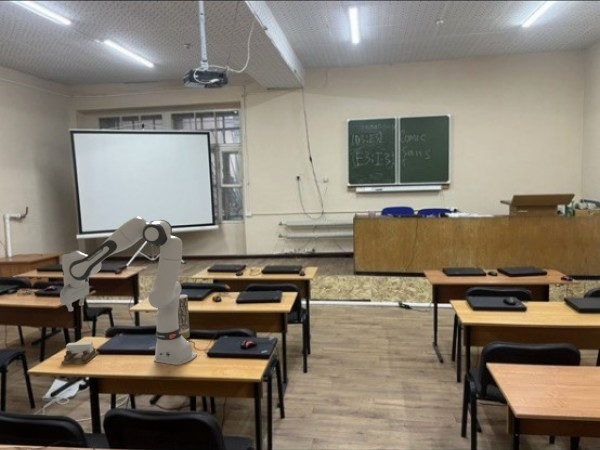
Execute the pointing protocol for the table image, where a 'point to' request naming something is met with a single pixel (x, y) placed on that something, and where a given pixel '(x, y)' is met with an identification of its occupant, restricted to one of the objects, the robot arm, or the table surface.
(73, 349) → the grey strip
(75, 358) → the drying rack
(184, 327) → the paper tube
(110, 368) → the table surface
